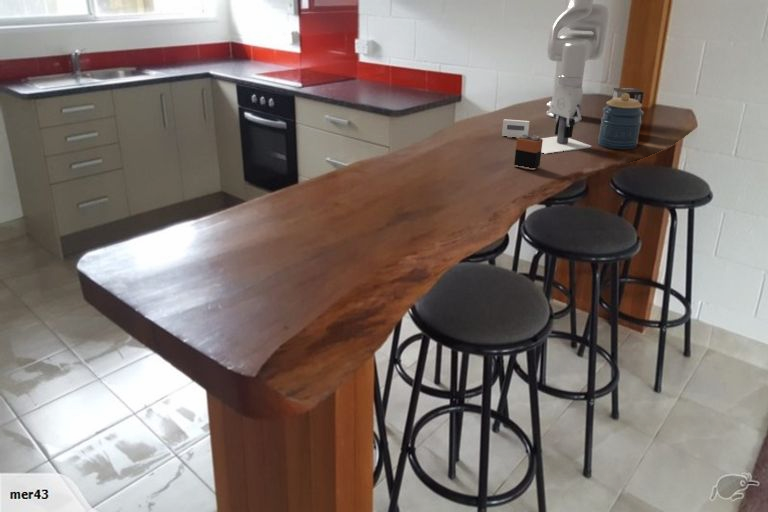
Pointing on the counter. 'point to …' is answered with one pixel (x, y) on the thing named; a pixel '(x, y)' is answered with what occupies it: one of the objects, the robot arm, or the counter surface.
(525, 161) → the battery
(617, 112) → the canister
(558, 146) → the paper
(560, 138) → the marker
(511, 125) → the word card
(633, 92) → the coffee box
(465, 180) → the counter surface
